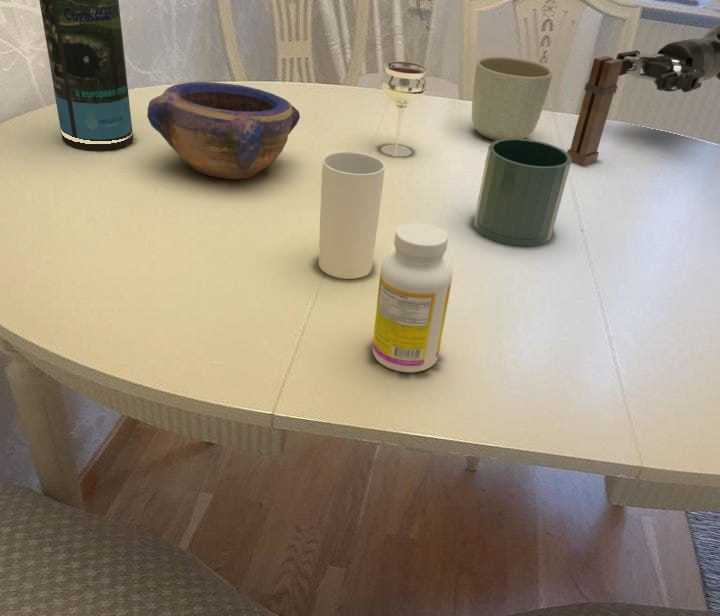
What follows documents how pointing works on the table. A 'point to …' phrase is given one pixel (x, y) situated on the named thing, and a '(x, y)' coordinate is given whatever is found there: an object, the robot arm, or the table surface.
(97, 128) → the advertising column
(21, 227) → the table surface
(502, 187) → the crock
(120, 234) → the table surface
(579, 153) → the tongs
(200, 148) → the bowl
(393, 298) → the supplement bottle
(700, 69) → the robot arm
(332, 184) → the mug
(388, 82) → the wineglass
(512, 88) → the planter
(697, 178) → the table surface
